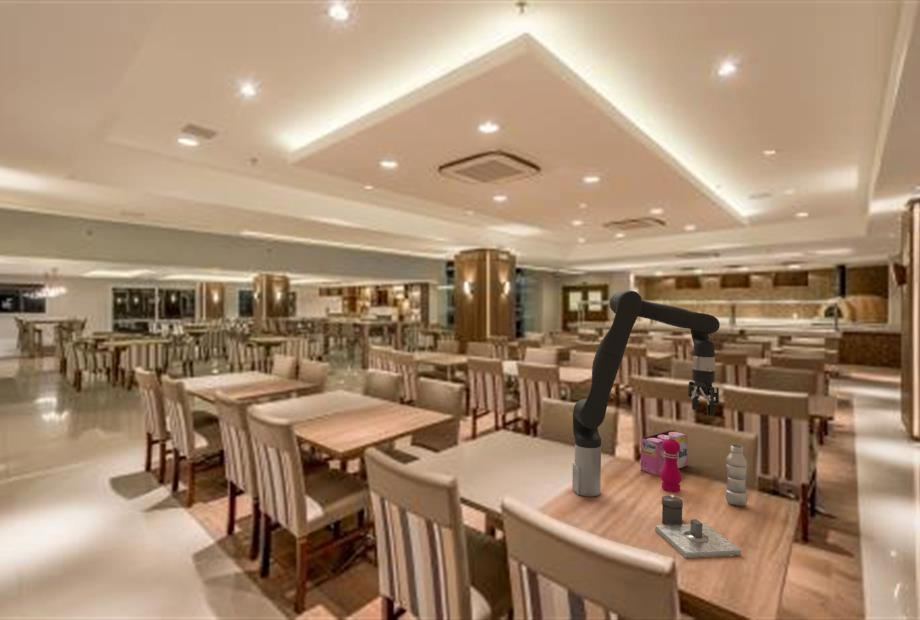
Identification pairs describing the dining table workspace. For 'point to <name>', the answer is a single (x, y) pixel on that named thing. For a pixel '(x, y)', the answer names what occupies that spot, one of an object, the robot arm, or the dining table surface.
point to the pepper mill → (671, 466)
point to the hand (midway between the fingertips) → (702, 412)
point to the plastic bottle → (736, 476)
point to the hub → (697, 540)
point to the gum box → (661, 451)
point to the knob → (672, 510)
